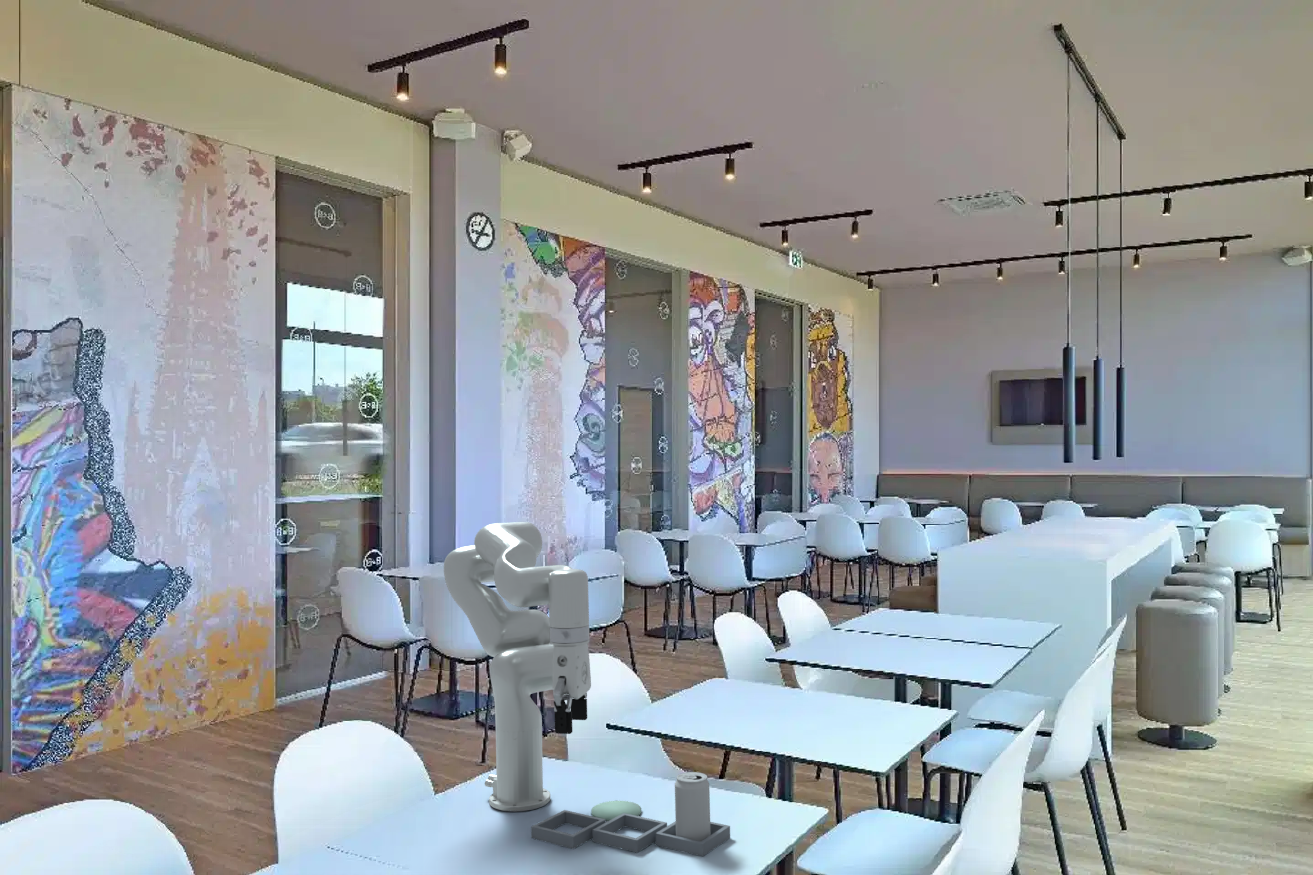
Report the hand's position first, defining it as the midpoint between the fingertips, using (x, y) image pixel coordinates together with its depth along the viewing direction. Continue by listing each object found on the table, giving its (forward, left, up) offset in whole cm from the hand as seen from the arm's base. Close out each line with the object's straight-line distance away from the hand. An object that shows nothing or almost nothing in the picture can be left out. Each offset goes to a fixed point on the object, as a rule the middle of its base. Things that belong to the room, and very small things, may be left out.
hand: (571, 726), depth 187 cm
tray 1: (-1, 0, -21) cm, 20 cm away
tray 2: (+10, +4, -21) cm, 23 cm away
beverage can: (+21, +9, -21) cm, 31 cm away
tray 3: (+21, +9, -21) cm, 31 cm away
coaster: (0, +14, -21) cm, 25 cm away
